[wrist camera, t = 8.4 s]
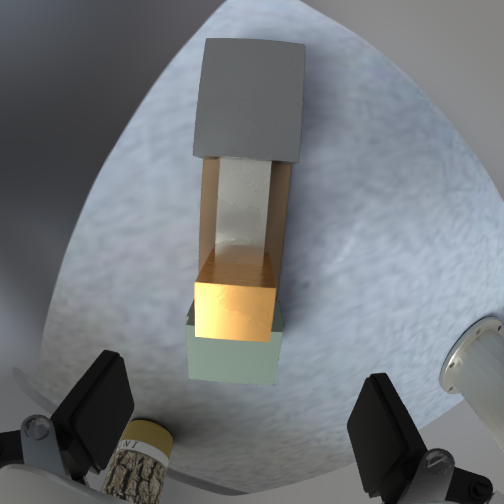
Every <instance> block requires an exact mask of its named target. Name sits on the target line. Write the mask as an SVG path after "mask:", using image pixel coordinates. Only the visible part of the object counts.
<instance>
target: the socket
mask: <svg viewBox="0 0 504 504" xmlns="http://www.w3.org/2000/svg"><path fill="white" fill-rule="evenodd" d="M283 327H284V321H283V316H282V311H281V306H280V302H279V301H275V304H274V312H273V320H272V328H271V336H270V342H257V341H241V340H228V339H216V338H206V337H196V336H195V298H194V301H193V303H192V305H191V307H190V310H189V312H188V314H187V323H186V340H187V358H188V373H189V379H197V380H206V381H216V382H227V383H240V384H258V385H274V384H275V378H276V372H277V366H278V360H279V354H280V348H281V341H282V335H283Z"/></svg>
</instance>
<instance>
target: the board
mask: <svg viewBox="0 0 504 504" xmlns="http://www.w3.org/2000/svg"><path fill="white" fill-rule="evenodd" d="M290 169H291V165H279V164H278V161H272V162H271V174H270V187H269V199H268V211H267V222H266V234H265V245H264V253H269V256H270V261H271V265H272V270H273V275H274V280H275V284H276V295H275V301H277V297H278V288H279V280H280V271H281V262H282V253H283V244H284V234H285V224H286V214H287V203H288V192H289V181H290ZM219 170H220V157H217V158H216V160H205V159H203V172H202V188H201V208H200V233H199V273H200V271H201V269H202V267H203V266H204V264H205V262H206V260H207V258H208V256H209V254H210V252H211V250H212V249H215V240H216V220H217V201H218V185H219Z"/></svg>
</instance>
